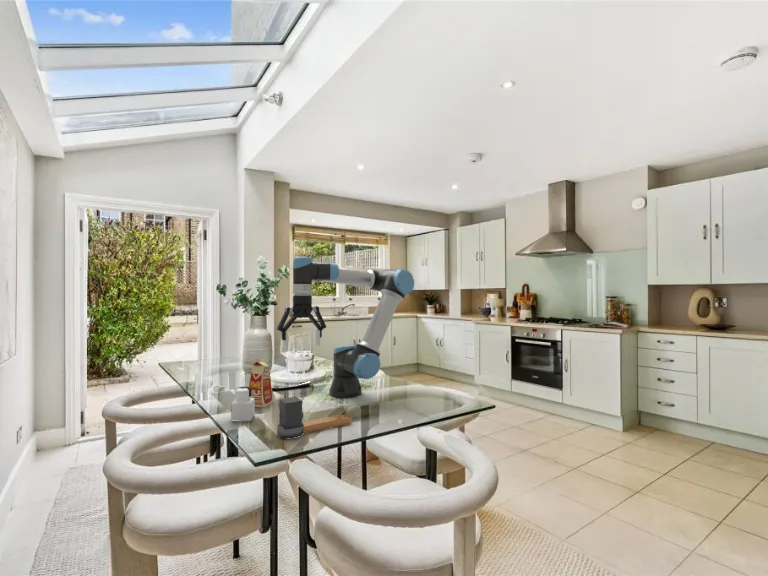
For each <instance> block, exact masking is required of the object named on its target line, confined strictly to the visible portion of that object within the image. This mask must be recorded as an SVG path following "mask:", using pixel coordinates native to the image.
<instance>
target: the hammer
mask: <svg viewBox="0 0 768 576" xmlns="http://www.w3.org/2000/svg"><path fill="white" fill-rule="evenodd" d="M351 424H352V416H350V415H348V414H347V413H345V414H341V415H335V416H330V417H324V418H319V419H314V420H308V421H305V422H303V421H302V427H297V428H292V429H287V430H285V429H284V428H283V427H282V426H280V425H279V424H278V425H277V427H276V433H277V435H276V436H277V437H278V438H279V437H280V439H282V438H294V437H298V436H301V435H302V434H303V433H304V434H307V433H306V432H309V433H312V431H314V432H318V430H319V431H323V430H326V428H328V429H331V428H330V427H333V428H337V426H338V427H342V426H348V425H351ZM304 434H303V435H304ZM303 435H302V436H303ZM302 436H301V437H302ZM298 438H299V437H298ZM294 439H295V438H294Z"/></svg>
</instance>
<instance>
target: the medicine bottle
mask: <svg viewBox="0 0 768 576" xmlns="http://www.w3.org/2000/svg"><path fill="white" fill-rule="evenodd" d="M254 404H255V399H254V398H251V388H250V387H249V386H238V387H237V388H235V389H234V400H233V401H232V402H231V404H230V407H231V409H230V412H231V413H230V417H231V418H230V421H231V420H238V421H237V422H250V421H252V419H253V418H254V416H255V406H254Z"/></svg>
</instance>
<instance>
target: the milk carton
mask: <svg viewBox="0 0 768 576" xmlns="http://www.w3.org/2000/svg"><path fill="white" fill-rule="evenodd" d="M270 375H271V370H270V366H269V365H268V364H267V363H266V362H265V359H260V358H259V359H258V358H256V362H254V363H253V364H252V365H251V371H250V377H249V383H248V387H250V388H251V398H254V399H255V404H254V408H255V407H257V408H266V407H267V406H269V405H271V404H272V403H273V402H274V393H273V390H272V383H271V376H270Z"/></svg>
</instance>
